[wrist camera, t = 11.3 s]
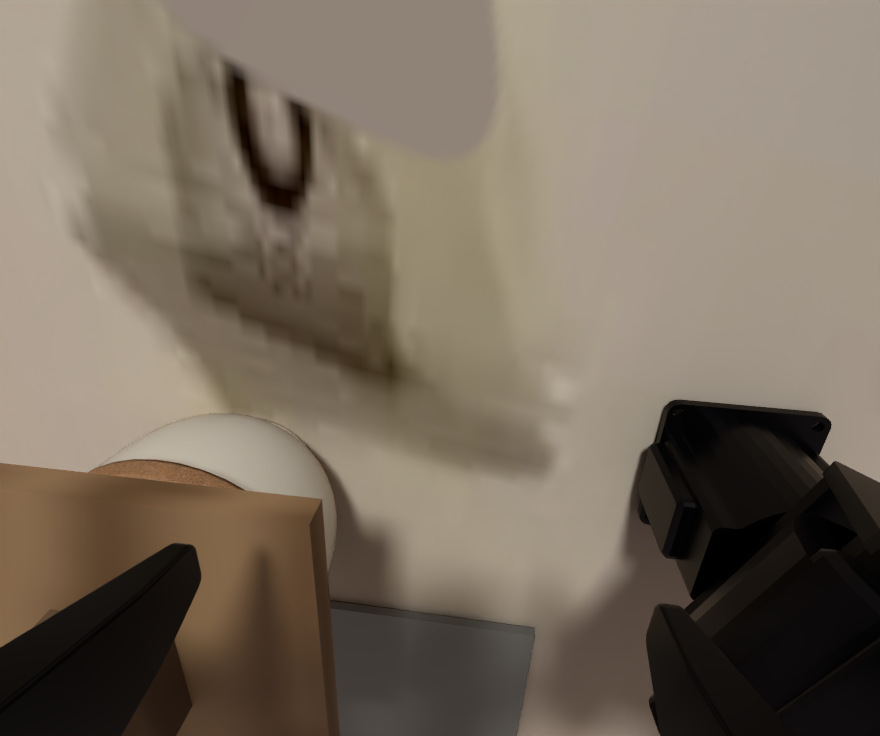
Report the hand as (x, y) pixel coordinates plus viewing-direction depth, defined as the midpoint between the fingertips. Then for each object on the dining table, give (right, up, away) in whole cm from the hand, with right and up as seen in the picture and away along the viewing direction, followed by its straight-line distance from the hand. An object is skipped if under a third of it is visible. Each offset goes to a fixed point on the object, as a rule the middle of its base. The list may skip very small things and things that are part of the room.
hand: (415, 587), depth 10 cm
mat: (-4, -16, +22) cm, 28 cm away
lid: (-10, -5, +8) cm, 13 cm away
